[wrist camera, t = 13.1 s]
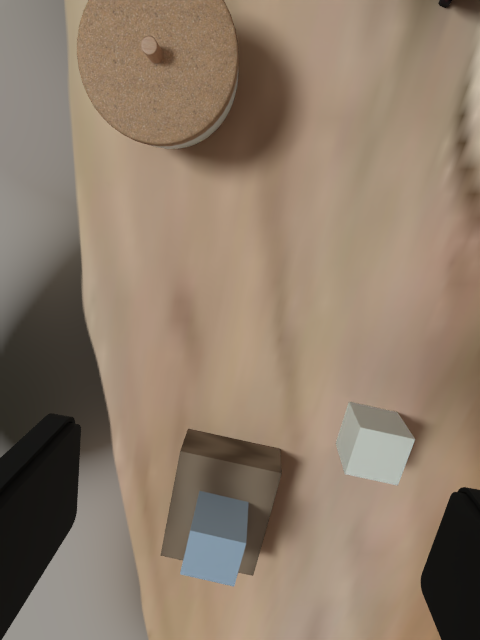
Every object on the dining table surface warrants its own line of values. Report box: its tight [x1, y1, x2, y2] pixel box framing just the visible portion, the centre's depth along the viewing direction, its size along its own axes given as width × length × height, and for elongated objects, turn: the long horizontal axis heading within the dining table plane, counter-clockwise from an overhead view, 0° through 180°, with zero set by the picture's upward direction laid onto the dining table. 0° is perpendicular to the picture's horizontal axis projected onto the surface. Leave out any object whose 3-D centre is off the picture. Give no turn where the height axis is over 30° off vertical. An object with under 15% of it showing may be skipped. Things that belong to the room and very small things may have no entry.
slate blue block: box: [180, 491, 249, 586], centre depth 37 cm, size 5×5×5 cm
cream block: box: [336, 402, 415, 485], centre depth 38 cm, size 5×5×5 cm
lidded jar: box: [77, 0, 239, 149], centre depth 28 cm, size 11×11×9 cm
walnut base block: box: [161, 429, 282, 576], centre depth 41 cm, size 10×13×4 cm
